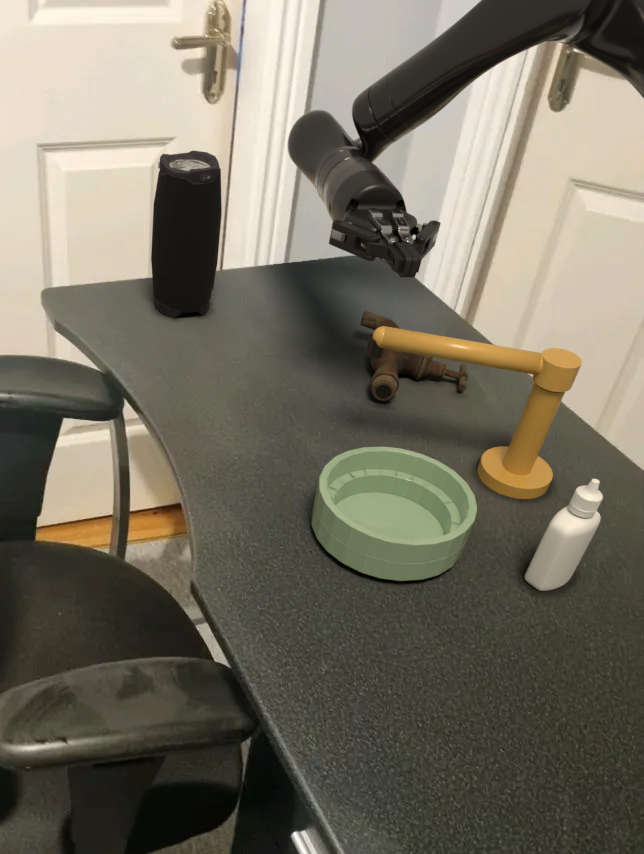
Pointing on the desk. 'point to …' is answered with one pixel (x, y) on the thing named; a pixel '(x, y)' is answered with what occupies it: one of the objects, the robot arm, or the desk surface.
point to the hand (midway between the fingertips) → (411, 268)
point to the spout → (482, 355)
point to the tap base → (523, 451)
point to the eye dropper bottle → (566, 539)
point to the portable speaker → (186, 232)
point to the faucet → (403, 364)
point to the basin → (392, 513)
